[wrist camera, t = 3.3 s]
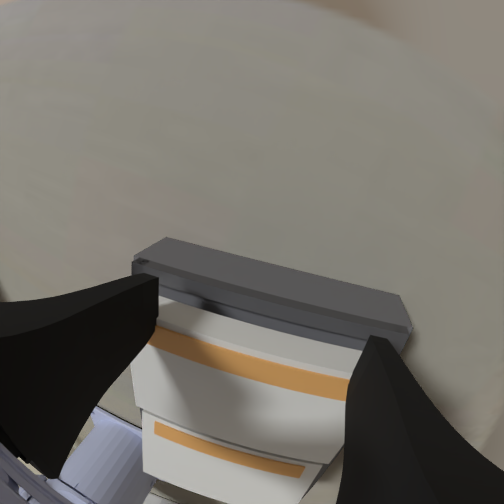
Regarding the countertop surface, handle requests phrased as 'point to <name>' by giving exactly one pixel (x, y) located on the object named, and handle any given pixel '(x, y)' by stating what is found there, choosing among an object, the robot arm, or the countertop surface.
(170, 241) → the grey divided tray
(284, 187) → the countertop surface
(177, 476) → the panel
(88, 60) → the countertop surface
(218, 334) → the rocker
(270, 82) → the countertop surface
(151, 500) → the container
